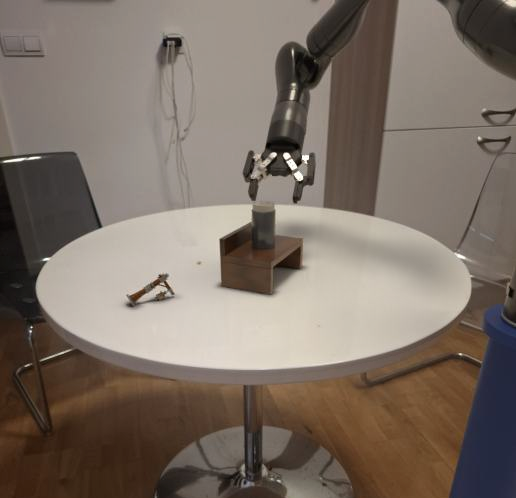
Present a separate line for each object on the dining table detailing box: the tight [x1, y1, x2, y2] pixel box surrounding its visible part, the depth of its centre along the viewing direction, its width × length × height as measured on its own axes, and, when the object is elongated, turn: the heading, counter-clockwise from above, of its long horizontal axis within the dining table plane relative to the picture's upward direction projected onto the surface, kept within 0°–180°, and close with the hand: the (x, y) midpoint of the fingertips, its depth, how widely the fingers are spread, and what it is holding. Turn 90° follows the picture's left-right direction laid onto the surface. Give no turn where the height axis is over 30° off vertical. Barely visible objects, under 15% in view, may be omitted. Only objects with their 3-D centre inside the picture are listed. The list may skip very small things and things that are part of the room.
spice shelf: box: [218, 220, 304, 296], centre depth 94 cm, size 10×16×9 cm, turn 155°
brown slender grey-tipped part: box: [125, 272, 175, 307], centre depth 85 cm, size 2×8×4 cm, turn 117°
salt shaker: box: [251, 200, 277, 250], centre depth 91 cm, size 4×4×8 cm
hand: (273, 200), depth 97 cm, fingers open, 8 cm apart
